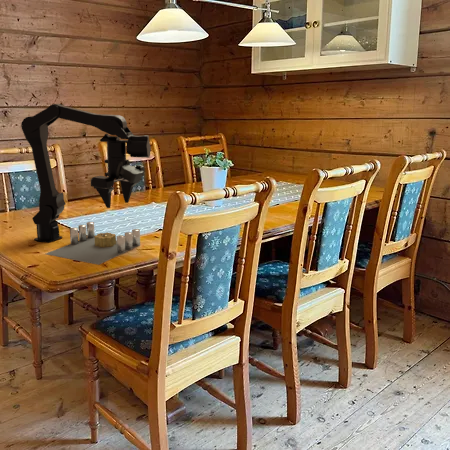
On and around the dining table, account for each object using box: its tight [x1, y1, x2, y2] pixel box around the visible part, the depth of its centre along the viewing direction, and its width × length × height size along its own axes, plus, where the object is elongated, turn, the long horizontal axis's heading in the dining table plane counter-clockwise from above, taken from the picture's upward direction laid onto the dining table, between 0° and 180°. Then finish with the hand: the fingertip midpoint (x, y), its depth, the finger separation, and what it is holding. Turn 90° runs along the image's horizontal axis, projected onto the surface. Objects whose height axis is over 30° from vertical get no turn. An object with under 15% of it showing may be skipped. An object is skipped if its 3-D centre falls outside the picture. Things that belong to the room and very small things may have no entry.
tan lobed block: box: [94, 232, 117, 248], centre depth 156 cm, size 6×6×3 cm
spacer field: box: [69, 221, 141, 254], centre depth 156 cm, size 20×10×5 cm, turn 66°
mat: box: [45, 238, 138, 266], centre depth 152 cm, size 20×21×1 cm
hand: (117, 205), depth 157 cm, fingers open, 9 cm apart
